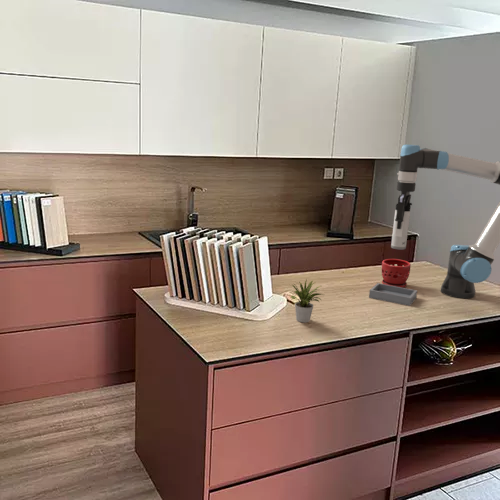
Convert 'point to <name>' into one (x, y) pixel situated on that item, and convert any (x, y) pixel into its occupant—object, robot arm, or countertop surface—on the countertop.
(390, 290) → the tray
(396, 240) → the travel mug
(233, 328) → the countertop surface
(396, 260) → the plant pot
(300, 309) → the house plant
